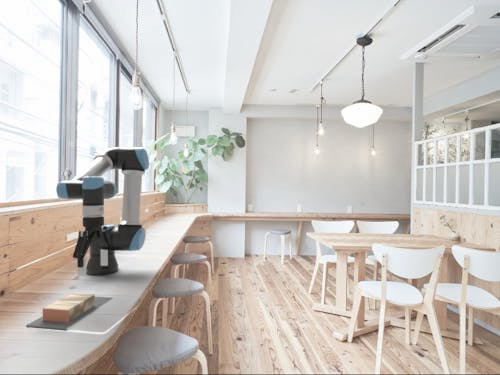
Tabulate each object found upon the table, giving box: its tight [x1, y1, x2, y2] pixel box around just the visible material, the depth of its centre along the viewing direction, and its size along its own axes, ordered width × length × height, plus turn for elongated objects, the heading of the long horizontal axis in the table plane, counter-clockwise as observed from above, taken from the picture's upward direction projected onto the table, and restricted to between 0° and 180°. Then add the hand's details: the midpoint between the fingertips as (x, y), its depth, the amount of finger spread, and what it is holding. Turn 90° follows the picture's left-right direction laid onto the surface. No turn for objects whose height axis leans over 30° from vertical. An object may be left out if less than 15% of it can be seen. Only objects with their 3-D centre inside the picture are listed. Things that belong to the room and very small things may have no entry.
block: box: [42, 292, 96, 322], centre depth 110 cm, size 4×9×14 cm
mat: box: [25, 295, 113, 332], centre depth 112 cm, size 26×14×1 cm, turn 172°
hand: (93, 270), depth 123 cm, fingers open, 13 cm apart
